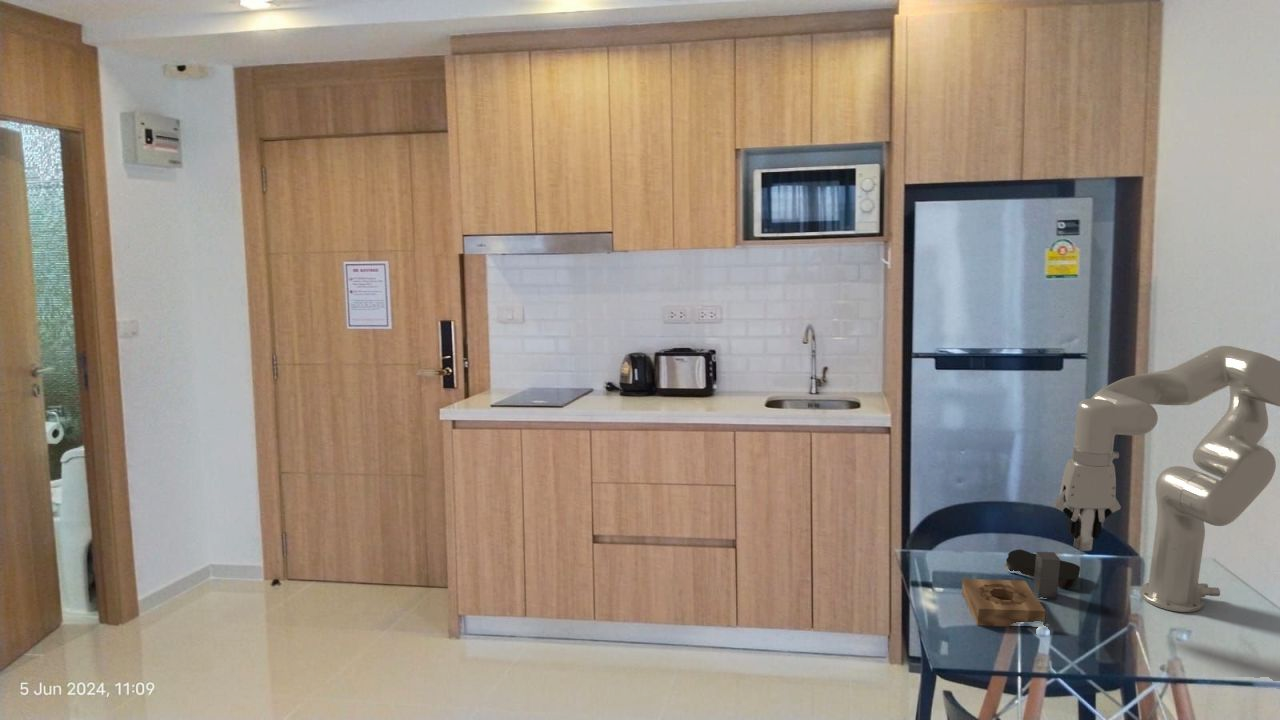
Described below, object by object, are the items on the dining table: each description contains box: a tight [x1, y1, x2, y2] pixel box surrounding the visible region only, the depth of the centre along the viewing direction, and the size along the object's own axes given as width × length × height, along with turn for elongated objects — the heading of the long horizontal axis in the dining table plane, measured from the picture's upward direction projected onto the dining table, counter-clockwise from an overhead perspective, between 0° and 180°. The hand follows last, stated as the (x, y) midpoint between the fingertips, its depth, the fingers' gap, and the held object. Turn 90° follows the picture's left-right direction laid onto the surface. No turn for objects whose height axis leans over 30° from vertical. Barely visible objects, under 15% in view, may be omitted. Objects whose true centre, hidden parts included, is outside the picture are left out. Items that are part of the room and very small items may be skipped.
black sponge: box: [1005, 549, 1081, 590], centre depth 219 cm, size 16×8×4 cm, turn 48°
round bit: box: [1073, 508, 1096, 552], centre depth 195 cm, size 4×4×10 cm
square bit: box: [1032, 551, 1061, 601], centre depth 208 cm, size 4×4×10 cm
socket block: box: [961, 578, 1046, 627], centre depth 202 cm, size 14×14×4 cm
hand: (1083, 535), depth 196 cm, fingers closed on round bit, 3 cm apart
